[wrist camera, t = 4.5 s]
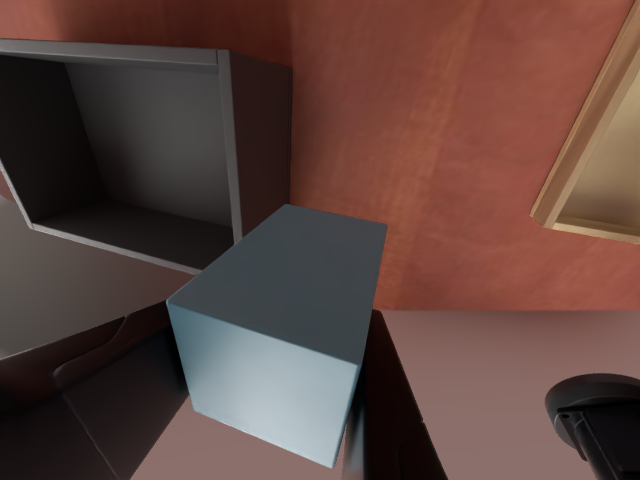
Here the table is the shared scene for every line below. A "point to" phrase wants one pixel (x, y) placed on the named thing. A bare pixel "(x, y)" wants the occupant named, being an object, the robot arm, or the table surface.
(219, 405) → the teal block
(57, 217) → the dark grey open box
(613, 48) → the wooden tray
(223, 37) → the table surface
